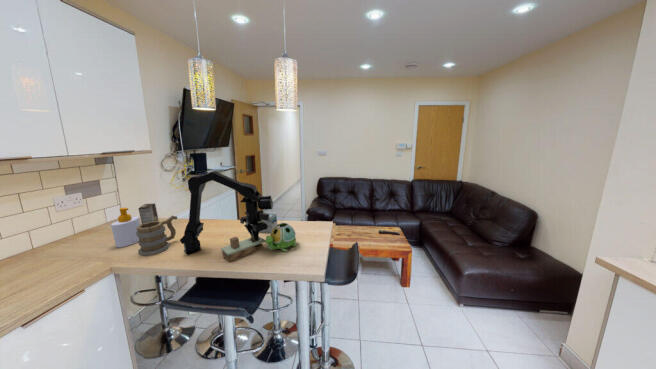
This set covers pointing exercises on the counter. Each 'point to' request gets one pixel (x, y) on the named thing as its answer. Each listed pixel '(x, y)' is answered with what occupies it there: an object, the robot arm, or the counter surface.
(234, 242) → the lid
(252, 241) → the key peg
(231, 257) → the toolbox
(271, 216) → the light bulb box
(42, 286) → the counter surface
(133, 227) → the soap bottle
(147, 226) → the tankard
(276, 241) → the turtle holder
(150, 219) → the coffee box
